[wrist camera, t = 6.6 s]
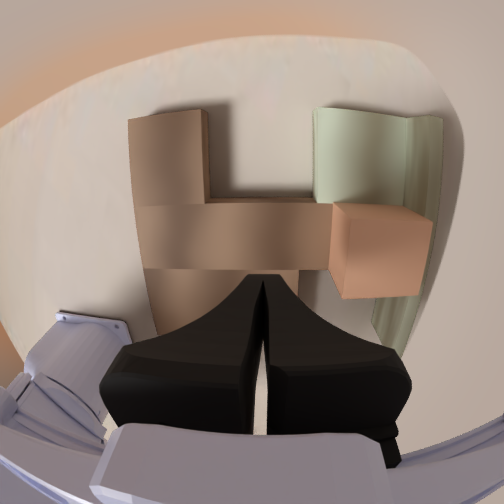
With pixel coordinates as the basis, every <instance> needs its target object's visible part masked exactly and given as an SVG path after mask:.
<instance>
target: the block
mask: <svg viewBox="0 0 504 504" xmlns="http://www.w3.org/2000/svg"><path fill="white" fill-rule="evenodd" d="M432 226H433V222H432V221H430V220H429V219H427V218H425V217H423V216H421V215H419V214H418V213H416V212H414V211H412V210H410V209H408V208H406V207H404V206H398V205H381V204H361V203H335V202H333V213H332V229H331V243H330V255H329V266H328V269H329V271H330V274H331V276H332V278H333V280H334V283H335V285H336V287H337V289H338V292H339V294H340V296H341V298H342V299H360V298H382V297H400V296H415V295H418V294H419V290H420V286H421V282H422V278H423V274H424V269H425V265H426V260H427V255H428V250H429V244H430V239H431V233H432Z"/></svg>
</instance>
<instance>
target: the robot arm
mask: <svg viewBox="0 0 504 504" xmlns="http://www.w3.org/2000/svg"><path fill="white" fill-rule="evenodd" d="M55 316H56V319H57V322H56V323H55V324H54V325H53V326H52V327H51V328H50V329H49V330H48V332H47V333H46V334H45V335H44V336H43V337H42V338H41V339H40V340H39V341H38V342H37V343H36V344H35V345H34V347H33V348H32V349H31V350H30V351H29V353H28V355H27V357H26V360H25V365H24V373H21V372H20V373H19V374H18V375H17V376H16V378H15V379H14V380H13V381H12V383H11V384H10V385H9V386H8V388H7V389H4V388H3V387H2V386H0V504H475V503H477V502H478V501H480V500H481V499H483V498H485V497H486V496H488V495H489V494H491V493H493V492H494V491H496V490H497V489H498V488H500V487H501V486H503V485H504V413H503V415H502V416H500V417H498V418H496V419H494V420H492V421H490V422H488V423H486V424H484V425H482V426H480V427H478V428H476V429H474V430H472V431H469V432H467V433H465V434H462V435H460V436H457V437H455V438H452V439H450V440H447V441H444V442H441V443H439V444H436V445H433V446H430V447H427V448H424V449H421V450H418V451H414V452H411V453H407V454H403V455H400V452H399V449H398V446H397V442H396V439H395V437H397V436H398V432H399V431H398V428H397V425H396V422H395V421H396V419H397V418H398V416H399V414H400V413H401V411H402V409H403V407H404V405H405V404H406V402H407V400H408V398H409V396H410V393H411V390H412V381H411V379H410V376H409V374H408V372H407V370H406V368H405V366H404V364H403V362H402V360H401V359H400V357H399V356H398V354H397V352H396V351H395V349H392V348H389V347H385V346H382V345H379V344H375V343H372V342H369V341H366V340H363V339H361V338H358V337H356V336H353V335H351V334H349V333H347V332H345V331H343V330H341V329H339V328H337V327H336V326H334V325H332V324H330V323H329V322H327V321H325V320H324V319H322V318H321V317H320V316H318V315H317V314H316V313H314V312H313V311H312V310H311V309H309V308H308V307H307V306H306V305H305V304H304V303H303V302H302V301H301V300H300V299H299V298H298V297H297V296H296V295H295V293H294V292H293V291H292V290H291V289H290V287H289V286H288V285H287V283H286V282H285V281H284V279H283V277H282V276H281V275H280V274H247V275H246V276H245V277H244V279H243V280H242V281H241V282H240V283H239V285H238V286H237V287H236V288H235V289H234V290H233V291H232V292H231V293H230V294H229V295H228V296H227V297H226V298H225V299H224V300H223V301H222V302H221V303H219V304H218V305H217V306H216V307H215V308H213V309H212V310H211V311H209V312H208V313H206V314H205V315H203V316H202V317H200V318H198V319H196V320H195V321H193V322H191V323H189V324H187V325H185V326H183V327H181V328H179V329H177V330H174V331H172V332H169V333H167V334H164V335H161V336H158V337H155V338H152V339H149V340H145V341H141V342H137V343H132V340H131V337H130V334H129V331H128V328H127V325H126V323H125V322H123V321H119V320H111V319H103V318H96V317H89V316H82V315H76V314H70V313H64V312H57V313H56V314H55ZM117 325H118V326H117ZM263 341H264V352H265V363H266V374H267V388H268V397H267V435H253V428H254V408H255V390H256V381H257V375H258V369H259V362H260V356H261V350H262V343H263ZM108 412H109V413H110V415H111V417H112V418H113V420H114V421H115V423H116V424H117V426H118V427H119V428H117V429H116V430H114V431H112V433H111V436H110V438H109V440H108V442H107V440H106V439H104V438H103V437H104V435H105V433H106V431H107V429H106V428H105V427H103V426H102V424H103V422H104V420H105V418H106V416H107V414H108Z"/></svg>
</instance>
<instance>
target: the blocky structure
mask: <svg viewBox="0 0 504 504" xmlns="http://www.w3.org/2000/svg"><path fill="white" fill-rule="evenodd" d="M128 139H129V158H130V172H131V184H132V194H133V204H134V212H135V220H136V228H137V235H138V241H139V248H140V254H141V260H142V265H143V271H144V276H145V281H146V286H147V291H148V296H149V301H150V305H151V310H152V314H153V318H154V322H155V327H156V331H157V335H164V334H167V333H169V332H172V331H174V330H177V329H179V328H181V327H183V326H185V325H187V324H189V323H191V322H193V321H195V320H196V319H198V318H200V317H202V316H203V315H205V314H206V313H208V312H209V311H211V310H212V309H213V308H215V307H216V306H217V305H218V304H219V303H221V302H222V301H223V300H224V299H225V298H226V297H227V296H228V295H229V294H230V293H231V292H232V291H233V290H234V289H235V288H236V287H237V286H238V285H239V283H240V282H241V281H242V280H243V279H244V277H245V276H246V275H247V274H280V275H281V276H282V277H283V279H284V281H285V282H286V283H287V285H288V286H289V287H290V289H291V290H292V291H293V292H294V293H295V295H296V296H297V295H298V279H299V270H329V269H328V266H329V255H330V243H331V229H332V213H333V202H335V203H361V204H381V205H398V206H404V207H406V208H408V209H410V210H412V211H414V212H416V213H418V214H419V215H421V216H423V217H425V218H427V219H429V220H430V221H432V222H433V226H432V233H431V239H430V244H429V250H428V255H427V260H426V265H425V269H424V274H423V278H422V282H421V286H420V290H419V294H418V295H415V296H400V297H382V298H377V299H376V304H375V308H374V313H373V317H372V321H371V322H372V324H373V326H374V328H375V330H376V332H377V334H378V336H379V338H380V340H381V343H382V345H383V346H385V347H389V348H392V349H395V351H396V352H397V354H398V356H399V357H400V358H401V357H402V355H403V352H404V349H405V347H406V344H407V341H408V338H409V335H410V332H411V329H412V326H413V323H414V320H415V317H416V313H417V310H418V307H419V303H420V300H421V296H422V292H423V288H424V284H425V280H426V276H427V272H428V267H429V263H430V258H431V253H432V248H433V243H434V237H435V231H436V224H437V217H438V210H439V201H440V192H441V180H442V164H443V118H439V117H436V116H432V115H425V116H418V117H410V118H403V117H398V116H392V115H386V114H379V113H372V112H365V111H357V110H348V109H338V108H325V107H317V108H316V109H315V110H313V196H312V197H231V198H211V192H210V171H209V145H208V113H207V112H205V111H204V110H202V109H195V110H186V111H178V112H171V113H164V114H157V115H151V116H145V117H139V118H134V119H129V120H128Z"/></svg>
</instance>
